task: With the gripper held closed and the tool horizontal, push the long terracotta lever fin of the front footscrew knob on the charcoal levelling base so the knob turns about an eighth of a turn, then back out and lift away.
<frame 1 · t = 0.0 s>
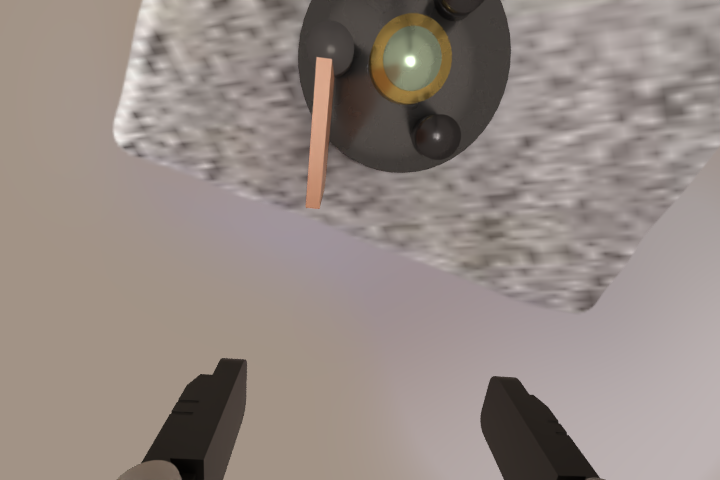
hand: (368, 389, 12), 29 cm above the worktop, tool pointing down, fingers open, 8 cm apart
levelling base: (402, 68, 36), on the worktop
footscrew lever: (323, 109, 29), point 8 cm above the worktop, hinge at 0.0°
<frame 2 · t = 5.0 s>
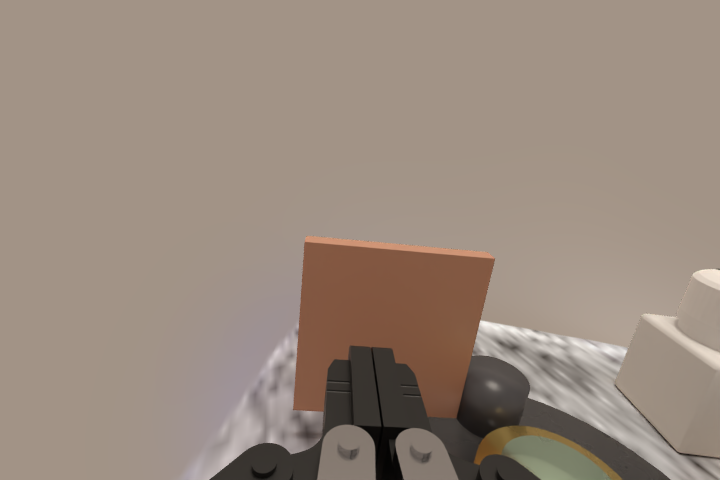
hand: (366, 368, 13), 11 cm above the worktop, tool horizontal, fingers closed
medicine bottle: (685, 422, 28), on the worktop
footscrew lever: (420, 337, 21), point 8 cm above the worktop, hinge at 0.0°
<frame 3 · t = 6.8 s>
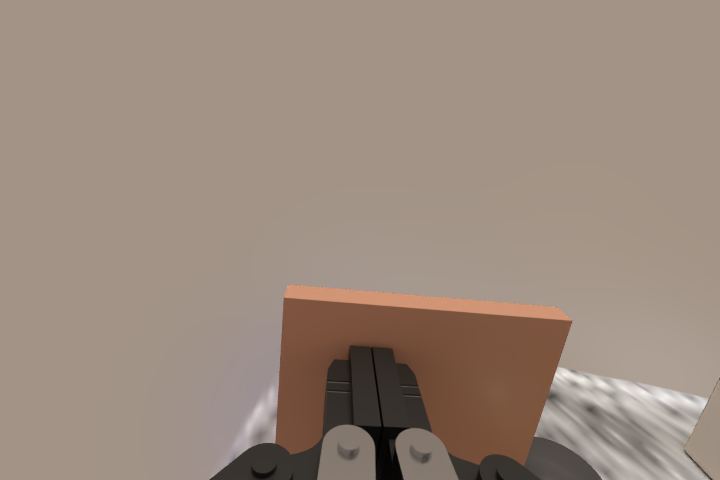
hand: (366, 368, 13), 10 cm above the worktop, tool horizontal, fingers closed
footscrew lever: (455, 426, 14), point 8 cm above the worktop, hinge at 0.0°, touching gripper
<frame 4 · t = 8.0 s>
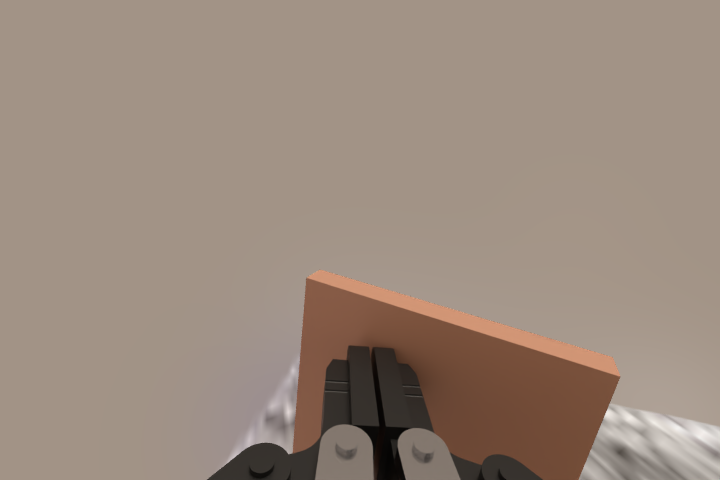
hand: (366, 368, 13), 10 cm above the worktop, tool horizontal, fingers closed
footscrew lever: (469, 461, 13), point 8 cm above the worktop, hinge at -27.6°, touching gripper
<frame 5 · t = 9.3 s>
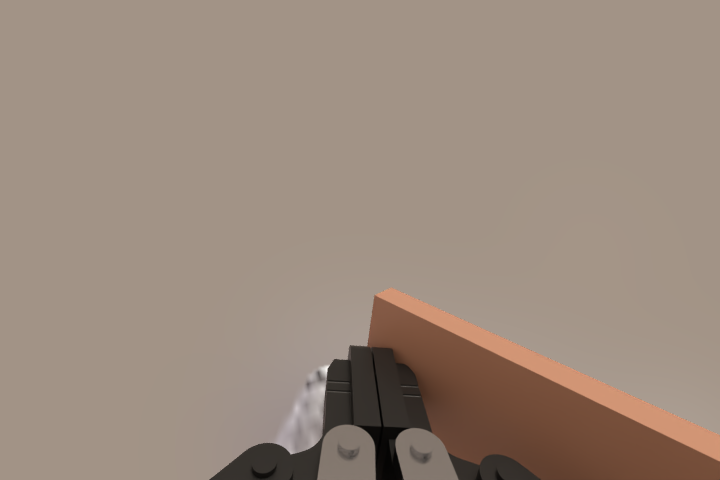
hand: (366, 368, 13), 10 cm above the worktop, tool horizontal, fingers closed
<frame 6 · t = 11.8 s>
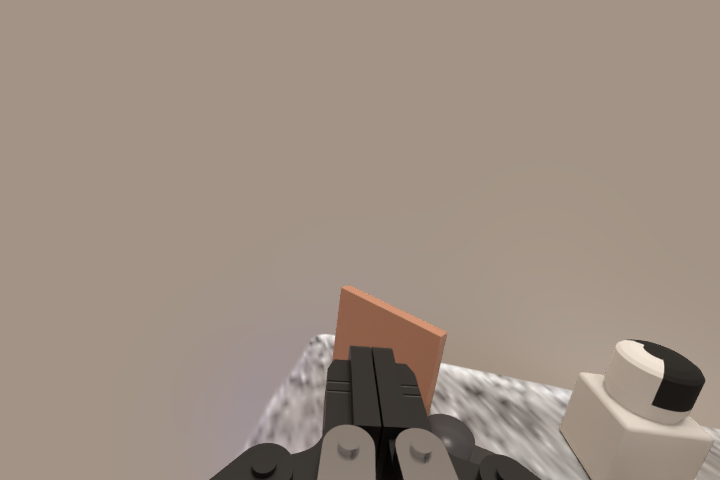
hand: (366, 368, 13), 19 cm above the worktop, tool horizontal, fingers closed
medicine bottle: (613, 465, 34), on the worktop
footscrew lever: (399, 375, 30), point 8 cm above the worktop, hinge at -43.6°
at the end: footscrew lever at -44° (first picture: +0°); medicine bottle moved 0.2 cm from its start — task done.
